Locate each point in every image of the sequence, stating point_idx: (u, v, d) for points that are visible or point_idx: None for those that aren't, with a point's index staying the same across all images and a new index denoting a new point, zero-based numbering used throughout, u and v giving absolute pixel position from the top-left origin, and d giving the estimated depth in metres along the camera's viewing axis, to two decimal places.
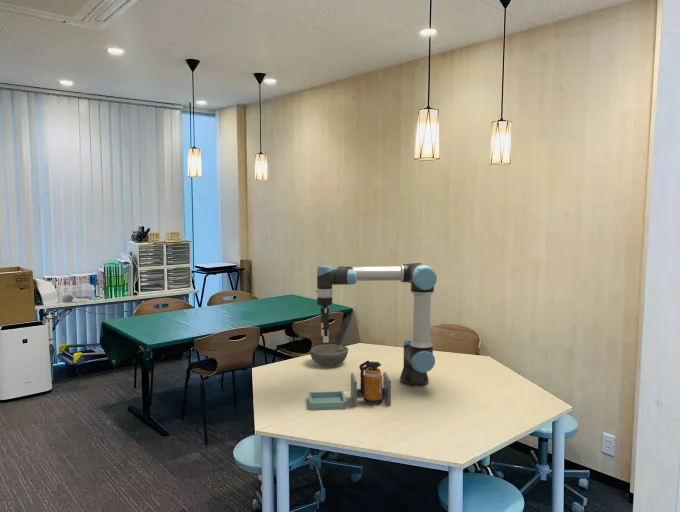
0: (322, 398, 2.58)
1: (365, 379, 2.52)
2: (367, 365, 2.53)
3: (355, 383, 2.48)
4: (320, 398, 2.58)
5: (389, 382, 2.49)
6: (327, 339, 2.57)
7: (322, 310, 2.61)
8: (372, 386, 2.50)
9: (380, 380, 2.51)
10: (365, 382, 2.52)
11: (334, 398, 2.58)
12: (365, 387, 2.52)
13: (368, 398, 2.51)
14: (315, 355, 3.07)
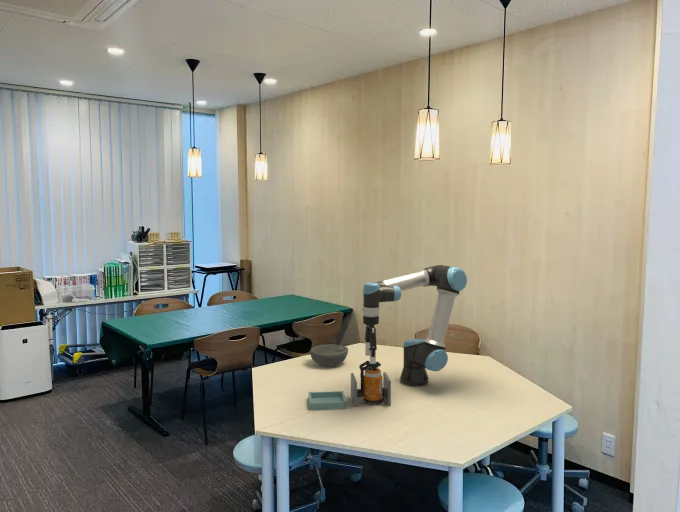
0: (322, 398, 2.58)
1: (365, 379, 2.52)
2: (367, 365, 2.53)
3: (355, 383, 2.48)
4: (320, 398, 2.58)
5: (389, 382, 2.49)
6: (374, 360, 2.46)
7: (368, 329, 2.50)
8: (372, 386, 2.50)
9: (380, 380, 2.51)
10: (365, 382, 2.52)
11: (334, 398, 2.58)
12: (365, 387, 2.52)
13: (368, 398, 2.51)
14: (315, 355, 3.07)
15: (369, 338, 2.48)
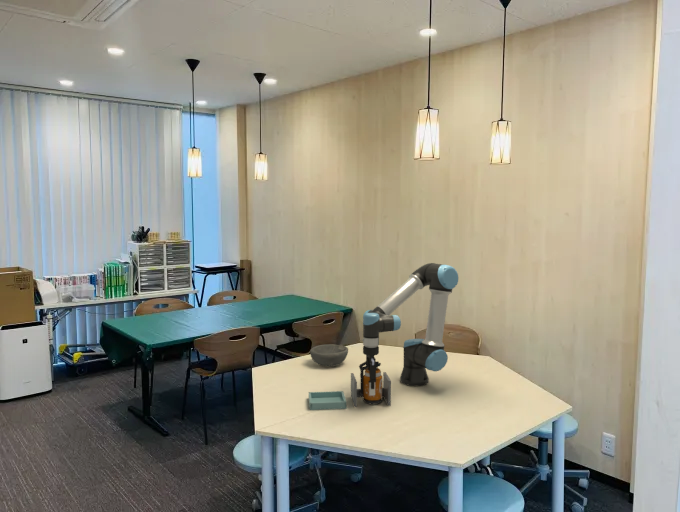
0: (322, 398, 2.58)
1: (365, 379, 2.52)
2: (367, 365, 2.53)
3: (355, 383, 2.48)
4: (320, 398, 2.58)
5: (389, 382, 2.49)
6: (373, 392, 2.50)
7: (368, 360, 2.51)
8: None
9: (380, 380, 2.51)
10: (365, 382, 2.52)
11: (334, 398, 2.58)
12: (365, 387, 2.52)
13: (368, 398, 2.51)
14: (315, 355, 3.07)
15: (369, 369, 2.51)
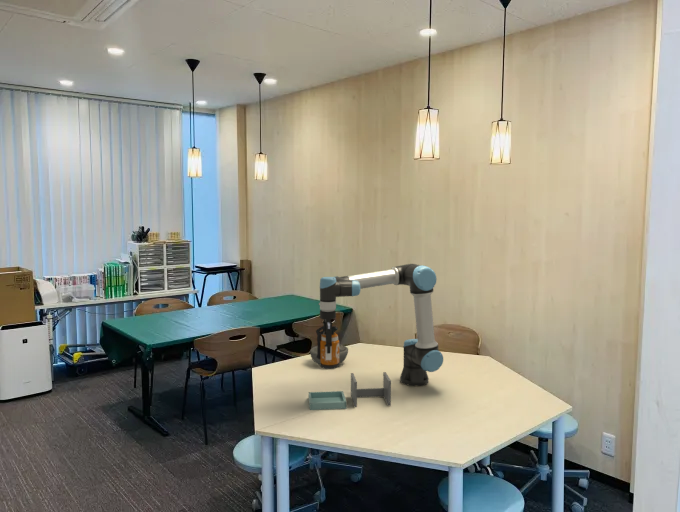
0: (322, 398, 2.58)
1: (321, 343, 2.48)
2: None
3: (355, 383, 2.48)
4: (320, 398, 2.58)
5: (389, 382, 2.49)
6: (330, 356, 2.46)
7: (325, 324, 2.48)
8: None
9: (337, 344, 2.48)
10: (321, 346, 2.48)
11: (334, 398, 2.58)
12: (321, 351, 2.49)
13: (324, 362, 2.48)
14: (315, 355, 3.07)
15: None
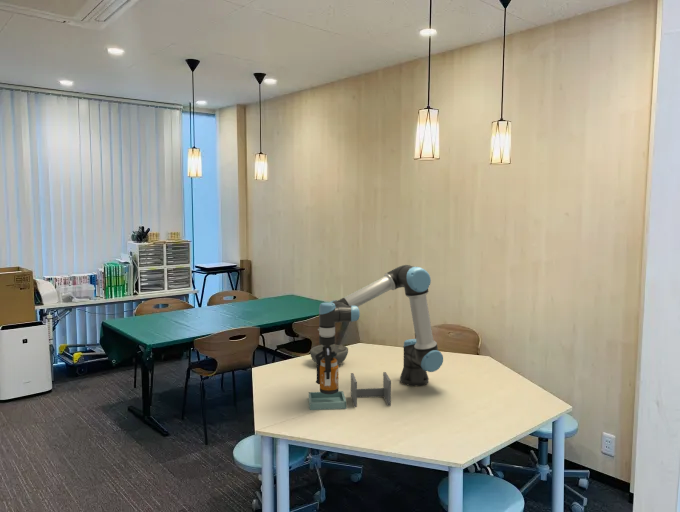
0: (322, 398, 2.58)
1: (321, 369, 2.49)
2: (323, 355, 2.51)
3: (355, 383, 2.48)
4: (320, 398, 2.58)
5: (389, 382, 2.49)
6: (329, 382, 2.47)
7: (324, 350, 2.49)
8: None
9: (336, 370, 2.49)
10: (321, 372, 2.49)
11: (334, 398, 2.58)
12: (321, 377, 2.50)
13: (324, 388, 2.49)
14: (315, 355, 3.07)
15: None
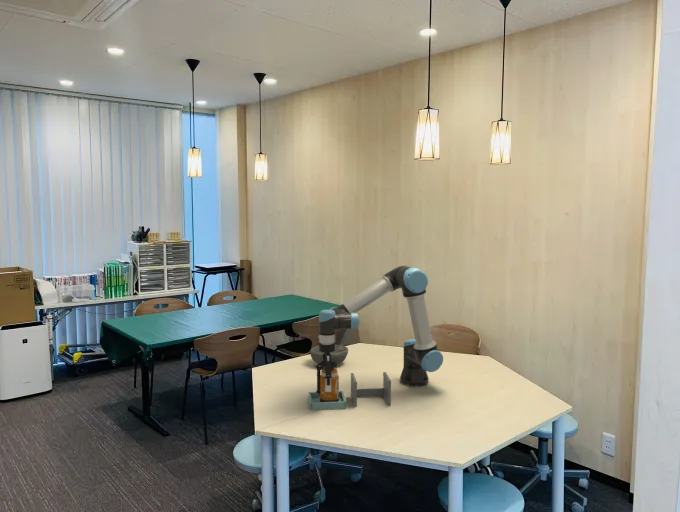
0: None
1: (321, 379, 2.50)
2: (323, 365, 2.51)
3: (355, 383, 2.48)
4: None
5: (389, 382, 2.49)
6: (329, 388, 2.45)
7: (324, 357, 2.49)
8: None
9: (336, 380, 2.50)
10: (321, 382, 2.50)
11: None
12: (321, 387, 2.50)
13: (324, 398, 2.49)
14: (315, 355, 3.07)
15: (325, 366, 2.48)
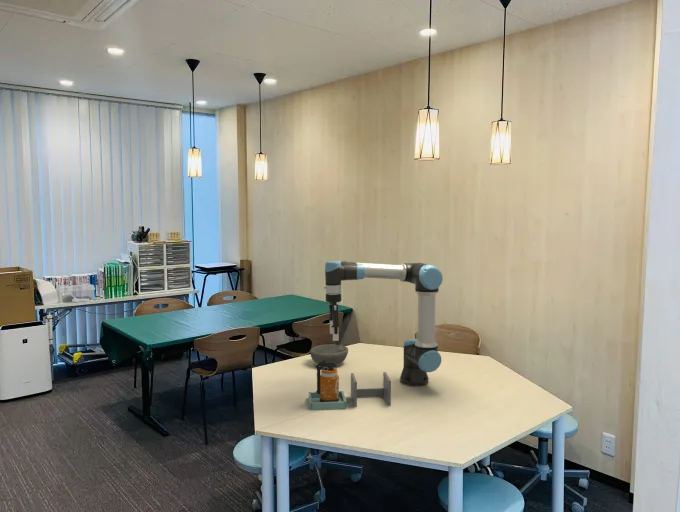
0: None
1: (321, 379, 2.50)
2: (323, 365, 2.51)
3: (355, 383, 2.48)
4: None
5: (389, 382, 2.49)
6: (337, 337, 2.48)
7: (331, 307, 2.52)
8: (328, 386, 2.48)
9: (336, 380, 2.50)
10: (321, 382, 2.50)
11: None
12: (321, 387, 2.50)
13: (324, 398, 2.49)
14: (315, 355, 3.07)
15: (332, 316, 2.50)
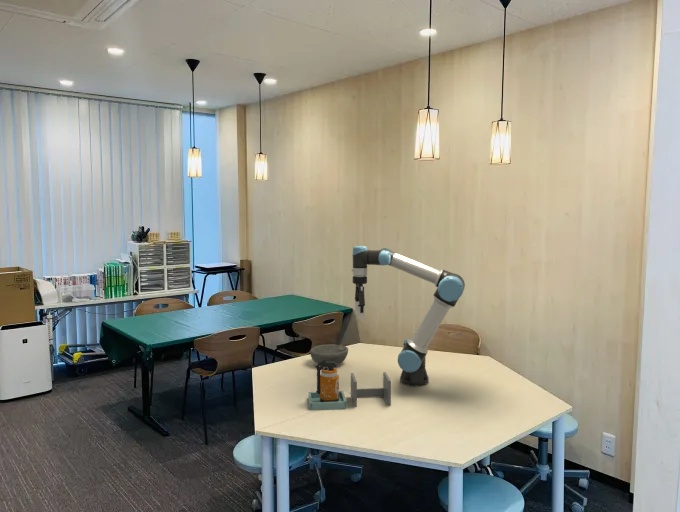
0: None
1: (321, 379, 2.50)
2: (323, 365, 2.51)
3: (355, 383, 2.48)
4: None
5: (389, 382, 2.49)
6: (363, 316, 2.69)
7: (357, 288, 2.73)
8: (328, 386, 2.48)
9: (336, 380, 2.50)
10: (321, 382, 2.50)
11: None
12: (321, 387, 2.50)
13: (324, 398, 2.49)
14: (315, 355, 3.07)
15: (358, 296, 2.72)
